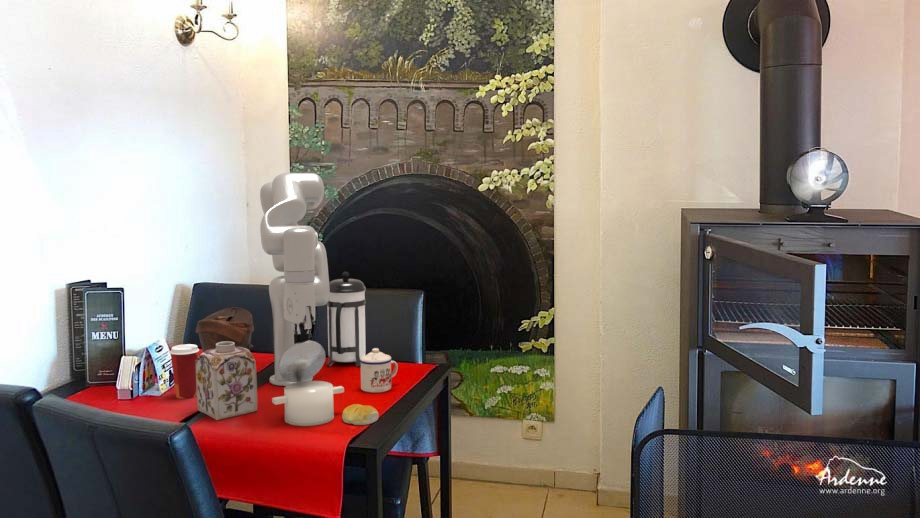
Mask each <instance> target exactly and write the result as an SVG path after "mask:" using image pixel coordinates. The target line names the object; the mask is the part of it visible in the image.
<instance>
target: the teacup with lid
mask: <svg viewBox="0 0 920 518" xmlns="http://www.w3.org/2000/svg"><path fill="white" fill-rule="evenodd" d="M360 362H361V366H360V389H361V391H363V392H365V393H372V394H373V393H374V394H375V393H376V394H377V393H378V394H379V393H384V392H387V391H389V390H391V389H392V379H393V378H394V377H395V376H396V375H397V372H398V367H399V366H398V363H397V362H396V361H395V360H392V356H391V355H390V354H385V353H384V352H382V351H380V349H379V348H378V347H374V348H372V349H371V351H370V352H368V353H366V355H364V356H362V357H361V358H360ZM392 364H393V367H394V368H393V371H392Z"/></svg>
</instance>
